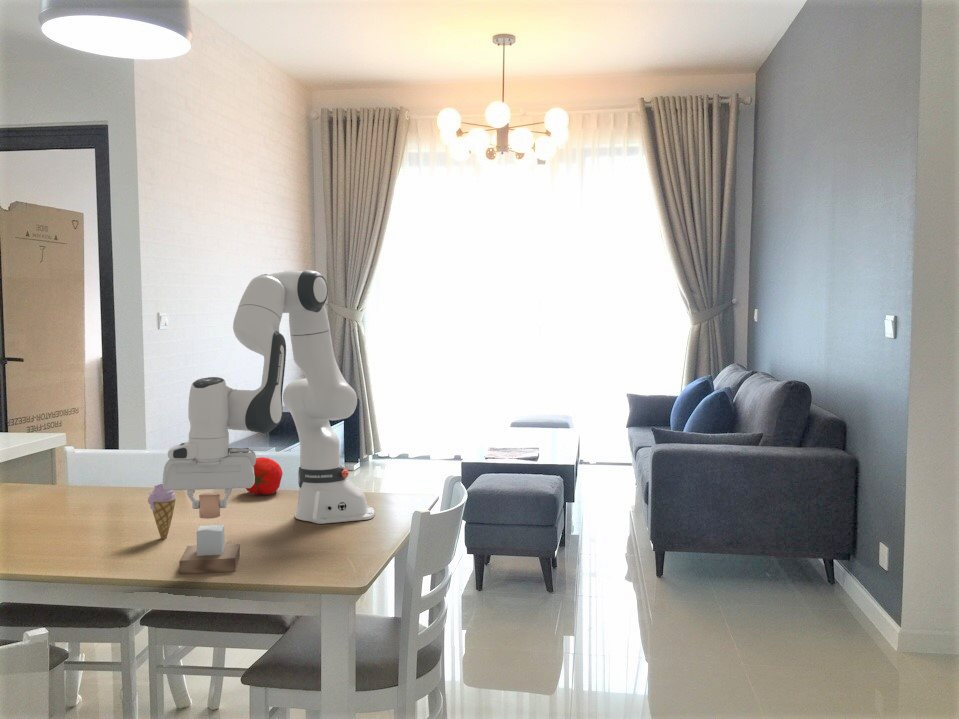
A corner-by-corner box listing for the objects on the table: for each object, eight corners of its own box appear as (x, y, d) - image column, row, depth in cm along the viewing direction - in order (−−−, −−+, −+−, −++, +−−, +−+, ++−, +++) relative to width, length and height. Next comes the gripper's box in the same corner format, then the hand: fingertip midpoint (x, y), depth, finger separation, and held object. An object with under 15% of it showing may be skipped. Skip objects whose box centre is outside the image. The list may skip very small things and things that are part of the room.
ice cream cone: (159, 543, 216) (158, 484, 215) (143, 539, 219) (142, 481, 218) (181, 537, 222) (180, 479, 221) (165, 533, 225) (164, 477, 224)
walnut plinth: (240, 555, 206) (239, 543, 206) (235, 571, 194) (235, 558, 194) (187, 558, 204) (187, 545, 203) (179, 573, 192) (179, 560, 192)
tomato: (263, 498, 280) (250, 509, 267) (241, 466, 279) (228, 475, 266) (295, 477, 279) (284, 487, 265) (273, 445, 278) (261, 453, 265)
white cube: (224, 547, 202) (224, 524, 201) (222, 554, 196) (221, 530, 196) (200, 548, 201) (199, 525, 200) (196, 555, 195) (196, 532, 195)
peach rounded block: (221, 513, 201) (221, 492, 200) (219, 518, 196) (218, 496, 196) (200, 514, 200) (200, 492, 199) (198, 518, 195) (197, 497, 195)
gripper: (256, 445, 202) (257, 503, 203) (165, 447, 198) (166, 506, 199) (254, 449, 196) (255, 509, 197) (160, 451, 192) (161, 512, 193)
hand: (209, 507), depth 198 cm, fingers closed on peach rounded block, 5 cm apart
